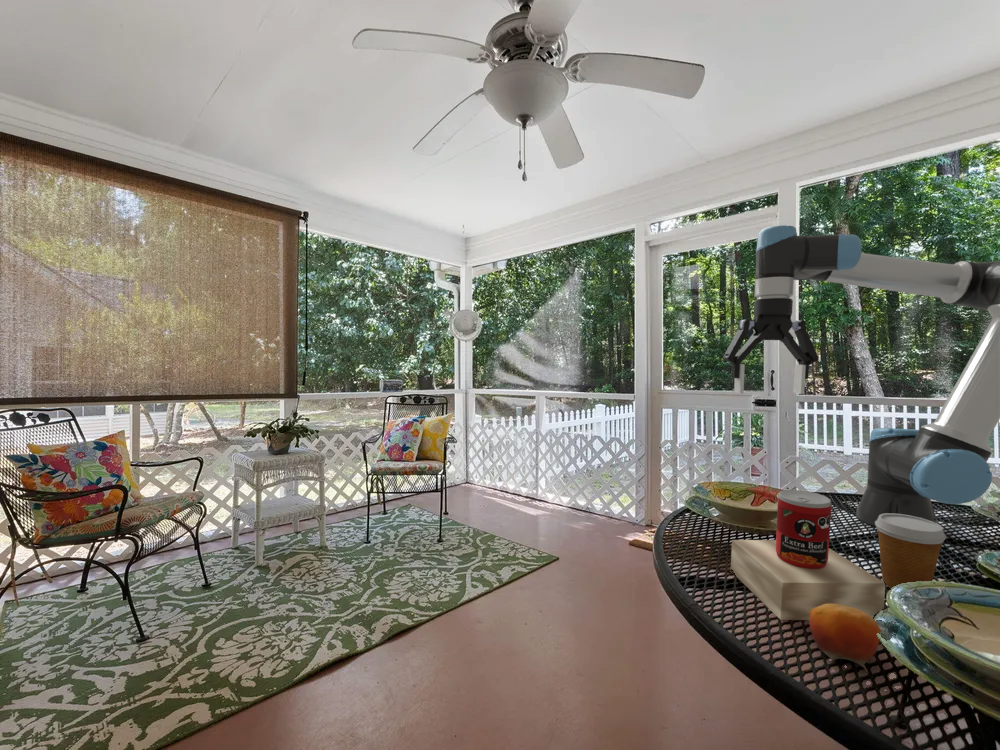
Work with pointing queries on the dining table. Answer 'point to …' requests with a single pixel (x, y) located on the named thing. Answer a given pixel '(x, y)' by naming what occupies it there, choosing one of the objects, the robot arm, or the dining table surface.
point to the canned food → (803, 528)
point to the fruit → (844, 632)
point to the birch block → (803, 581)
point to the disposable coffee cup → (908, 548)
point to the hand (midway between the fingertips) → (768, 393)
